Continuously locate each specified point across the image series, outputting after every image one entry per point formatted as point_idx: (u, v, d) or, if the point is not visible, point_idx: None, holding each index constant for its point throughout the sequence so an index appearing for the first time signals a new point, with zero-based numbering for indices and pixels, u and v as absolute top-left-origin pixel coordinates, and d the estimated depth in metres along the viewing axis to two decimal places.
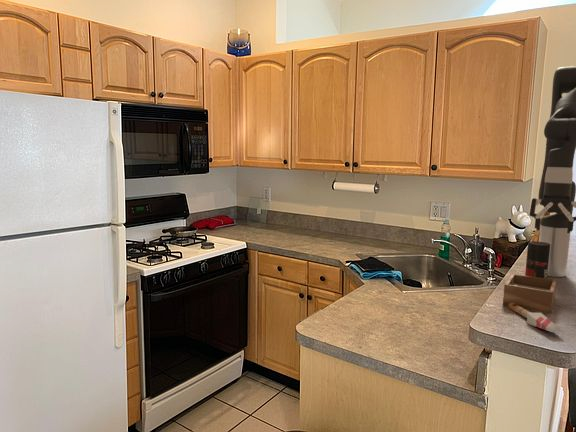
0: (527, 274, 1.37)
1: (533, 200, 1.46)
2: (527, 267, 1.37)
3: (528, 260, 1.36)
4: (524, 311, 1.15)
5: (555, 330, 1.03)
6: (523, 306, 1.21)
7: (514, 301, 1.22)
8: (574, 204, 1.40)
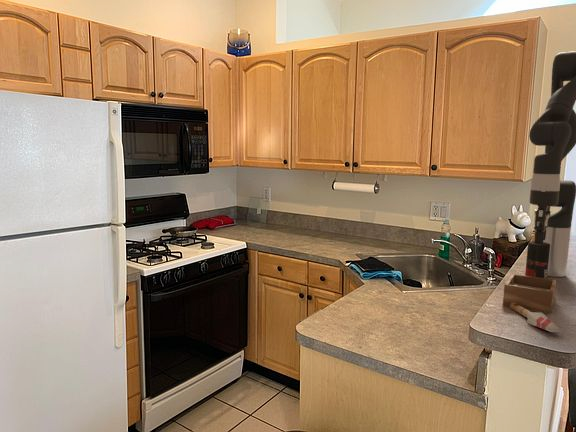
0: (527, 274, 1.37)
1: (545, 212, 1.28)
2: (527, 267, 1.37)
3: (528, 260, 1.36)
4: (525, 311, 1.15)
5: (555, 330, 1.03)
6: (523, 306, 1.21)
7: (514, 301, 1.22)
8: None
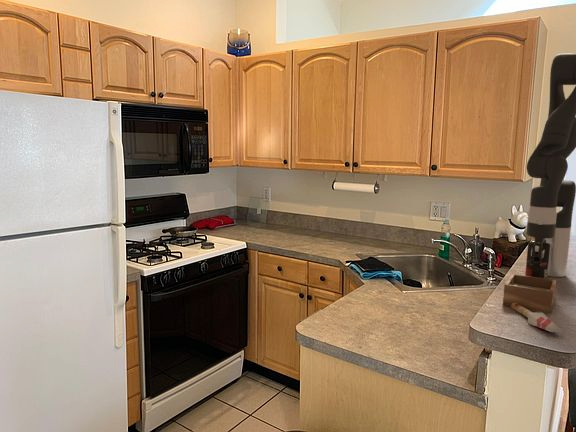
0: (527, 274, 1.37)
1: (541, 248, 1.30)
2: (527, 267, 1.37)
3: (528, 260, 1.36)
4: (526, 311, 1.15)
5: (555, 330, 1.03)
6: (523, 306, 1.21)
7: (514, 301, 1.22)
8: None
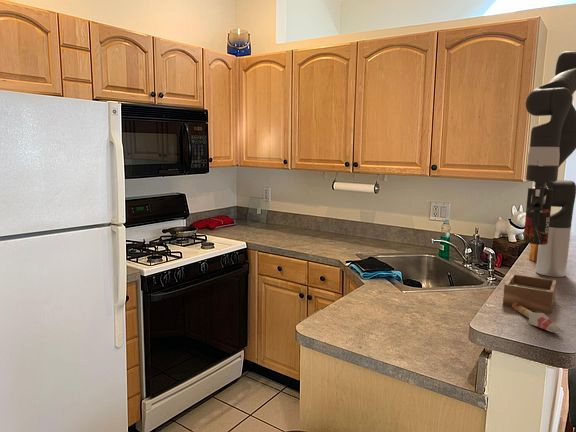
0: (527, 224, 1.23)
1: (543, 191, 1.16)
2: (527, 216, 1.23)
3: (528, 208, 1.22)
4: (526, 311, 1.15)
5: (556, 330, 1.03)
6: (523, 306, 1.21)
7: (514, 301, 1.22)
8: None
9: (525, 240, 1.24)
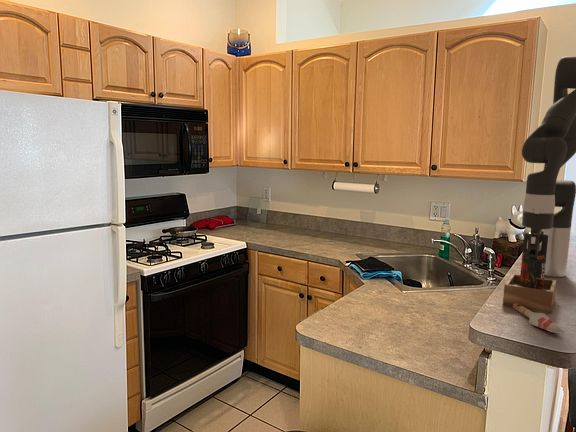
0: (523, 268, 1.25)
1: (538, 239, 1.18)
2: (523, 261, 1.25)
3: (524, 253, 1.24)
4: (527, 311, 1.15)
5: (556, 330, 1.03)
6: (523, 306, 1.21)
7: (514, 301, 1.22)
8: None
9: (521, 284, 1.26)
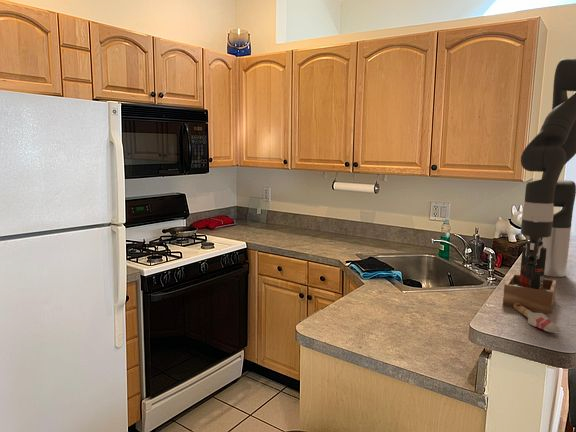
0: (521, 281, 1.25)
1: (537, 245, 1.18)
2: (521, 273, 1.25)
3: (522, 266, 1.25)
4: (527, 311, 1.15)
5: (553, 330, 1.03)
6: (523, 306, 1.21)
7: (514, 301, 1.22)
8: None
9: None
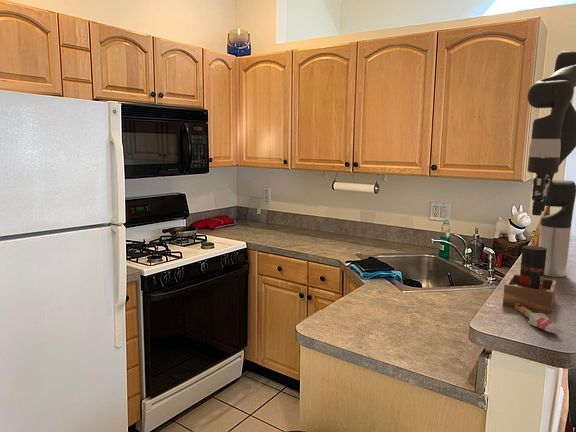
0: (521, 281, 1.25)
1: (544, 180, 1.18)
2: (521, 274, 1.25)
3: (522, 266, 1.25)
4: (528, 311, 1.14)
5: (554, 331, 1.02)
6: None
7: (514, 301, 1.22)
8: None
9: None
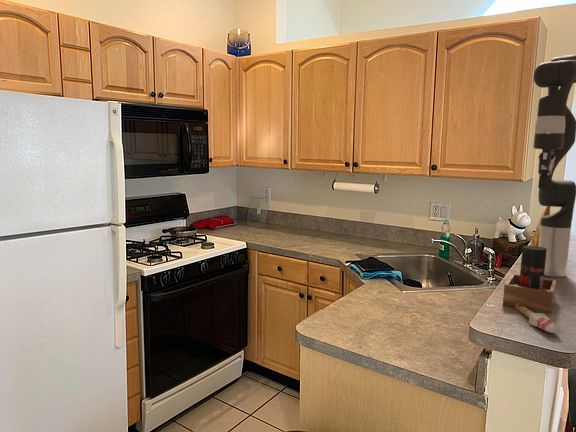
0: (521, 281, 1.25)
1: (550, 154, 1.25)
2: (521, 274, 1.25)
3: (522, 266, 1.25)
4: (528, 311, 1.14)
5: (554, 331, 1.02)
6: None
7: (514, 301, 1.22)
8: None
9: None
